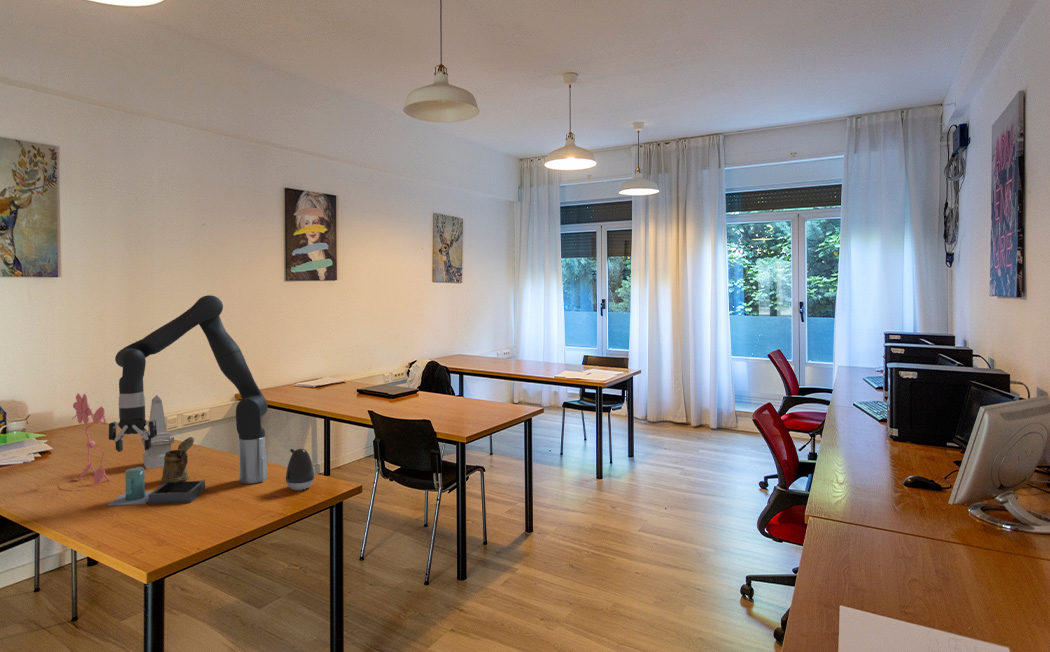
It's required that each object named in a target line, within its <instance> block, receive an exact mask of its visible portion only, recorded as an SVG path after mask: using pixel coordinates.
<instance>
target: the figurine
mask: <svg viewBox="0 0 1050 652" xmlns="http://www.w3.org/2000/svg"><path fill="white" fill-rule="evenodd" d="M75 400H76V401H75V402H74V403H73V404H72V408H73V409H74V411H75V415H74V416H73V417H72V420H74V419H75V418H77V422H78V424H79V425H80V424H82V422H83V423H84V425H85V426H86V427H85V429H84V430H85V433H86V437H87V440H88V441H87V442H86V447H87V452H88V453H87V456H88V458H87V459H88V465H87V466H86V467H85V468H84V469H83V470H82V472H81V473H80V475H79V477H78V480H81V479H82V478H83V477H85V476H86V474H87V473H88V472H89V471H90V469H91V470H92V473H93V482H94V485H98V484H99V483H100V482H101V481H102V480H103V478H105V479H106V480H107V482H110V479H109V477H108V476H107V474H106V473H105V472H106V471H105V468H104V467H103V466H102V465H103V459H104V453H105V451H103V450H101V449H100V448H98V447H95V446H96V442H95V441H94V440H90V436H89V431H88V428H90V427H92V426H93V425H95V424H96V425H98V424H99V423H101V424H103V425H106V424H107V422H106V421H107V420H106V417H105V408H103V407H104V406H102V405H101V406H99V408H98V409H96V410H95V412H94V413H93V410H92V408H90V404H89V403H88V402H89V401H88V396H87V395H86V393H83V395H82V394H80V393H76V395H75ZM89 416H91V419H92V421H93V423H91V424H89V422H90V419H89ZM101 420H103V421H101ZM92 448H93V449H95V450H98V451H99V452H101V453H102V456H101V461H100V465H99V466H100V467H98V468H97V469H96V470H95V469H94V468H93V462H91V461H90V449H92ZM89 474H91V472H89ZM61 490H62V491H64V489H62V488H59V491H61ZM66 490H67V489H66ZM67 491H68V492H71V490H69V489H68V490H67ZM67 491H66V492H67ZM79 491H84V489H82V490H80V489H79V490H76V492H79Z"/></svg>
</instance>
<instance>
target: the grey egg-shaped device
mask: <svg viewBox="0 0 1050 652" xmlns="http://www.w3.org/2000/svg"><path fill="white" fill-rule="evenodd" d="M289 451H290V453H291V456H290V458H289V460H288V463H287V467H286V471H285V482H286V484H287V486H288V488H290V490H293V491H304V490H306V488H307V489H308V488H310V487H311V486H312V485H313V483H314V479H315V477H316V476H315V468H314V464H313V461H312V458H311V456H310V454H309V452H308V451H307V450H306V449H305V448H297V449H293V448H291V449H290V450H289ZM303 489H304V490H303Z"/></svg>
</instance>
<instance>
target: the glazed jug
mask: <svg viewBox="0 0 1050 652" xmlns="http://www.w3.org/2000/svg"><path fill="white" fill-rule="evenodd" d="M145 469H146V468H145V467H143V466H137V467H132V468H129V469H126V470H125V474H124V475H125V476H124V477H125V481H124V483H125V493H126V500H129V501H132V500H139V499H142V498H144V497H145V492H146V491H145V490H146V489H145V485H146V482H145V478H146V477H145V475H146V474H145V473H146V472H145Z"/></svg>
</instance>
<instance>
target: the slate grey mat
mask: <svg viewBox="0 0 1050 652" xmlns="http://www.w3.org/2000/svg"><path fill="white" fill-rule="evenodd" d="M152 492H153V491H145V497H144V498H142V499H139V500H132V501H129V500H126V492H124V493H123V494H120V495H119V496H117V497H116V498H115V499H113V500H111V502H109V503H107V504H106V507H115V506H116V507H118V506H134V505H135V506H137V505H146V504H149V497H148V495H149V494H150V493H152Z"/></svg>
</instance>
